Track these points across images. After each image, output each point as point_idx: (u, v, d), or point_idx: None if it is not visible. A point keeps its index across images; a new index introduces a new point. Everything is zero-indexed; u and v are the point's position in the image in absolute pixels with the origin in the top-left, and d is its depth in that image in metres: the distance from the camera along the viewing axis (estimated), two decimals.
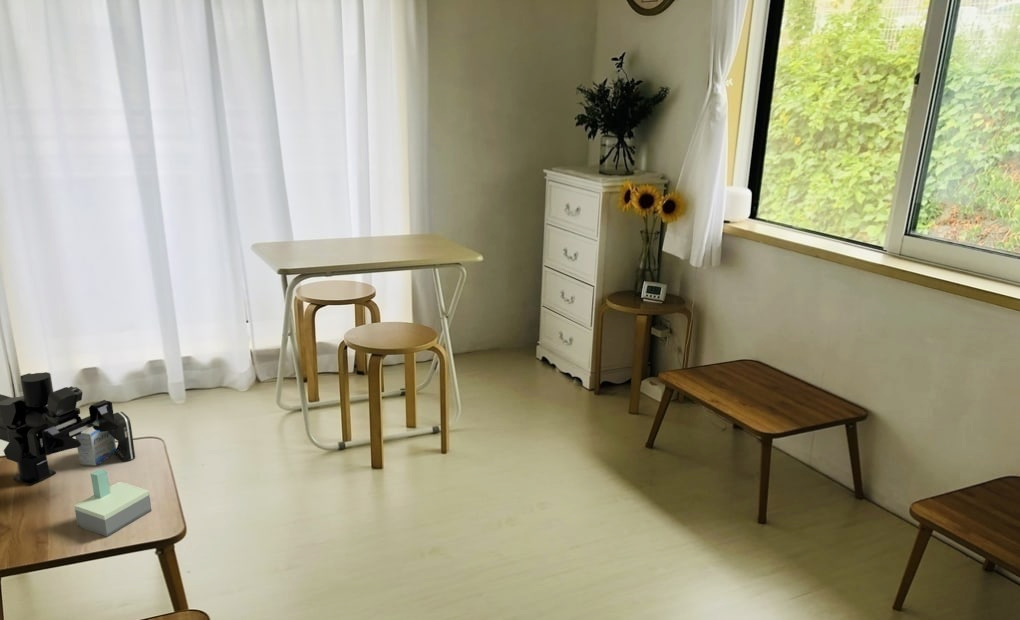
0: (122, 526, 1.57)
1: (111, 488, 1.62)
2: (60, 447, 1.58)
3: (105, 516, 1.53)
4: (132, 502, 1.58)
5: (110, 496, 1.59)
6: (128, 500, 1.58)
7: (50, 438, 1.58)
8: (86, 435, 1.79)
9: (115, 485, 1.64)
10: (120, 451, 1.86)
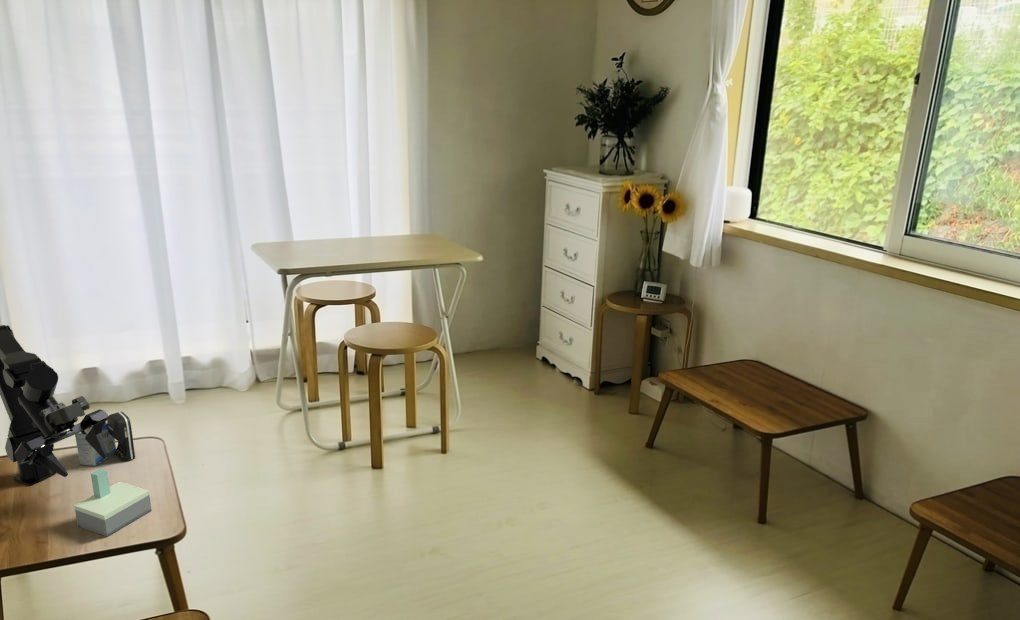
0: (122, 526, 1.57)
1: (111, 488, 1.62)
2: (45, 465, 1.55)
3: (105, 516, 1.53)
4: (132, 502, 1.58)
5: (110, 496, 1.59)
6: (128, 500, 1.58)
7: (40, 454, 1.54)
8: None
9: (115, 485, 1.64)
10: (120, 451, 1.86)
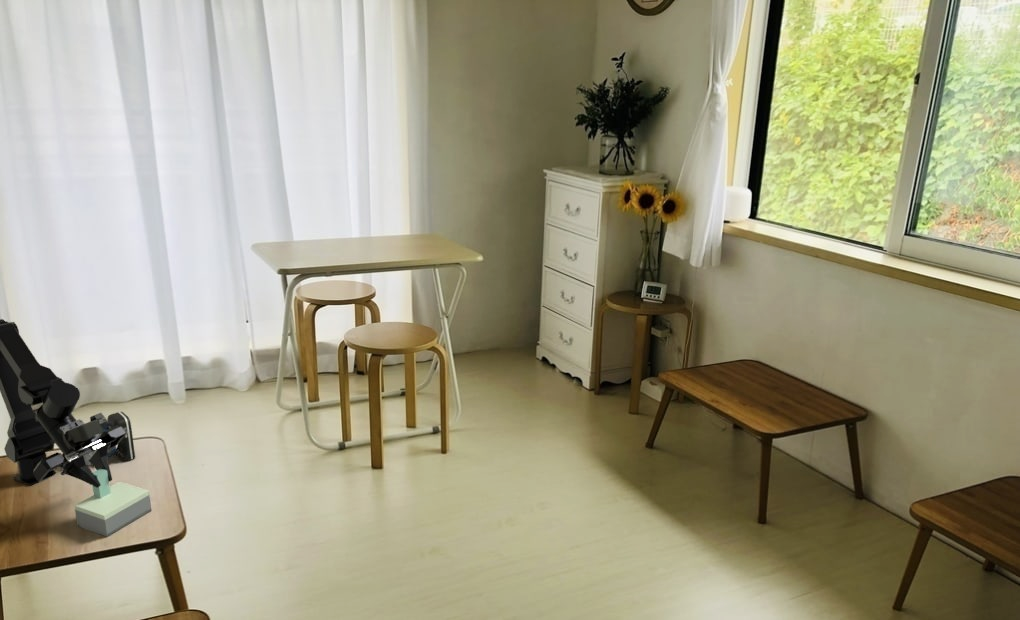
0: (122, 526, 1.57)
1: (111, 488, 1.62)
2: (78, 475, 1.57)
3: (105, 516, 1.53)
4: (132, 502, 1.58)
5: (110, 496, 1.59)
6: (128, 500, 1.58)
7: (74, 465, 1.56)
8: None
9: (115, 485, 1.64)
10: (120, 451, 1.86)
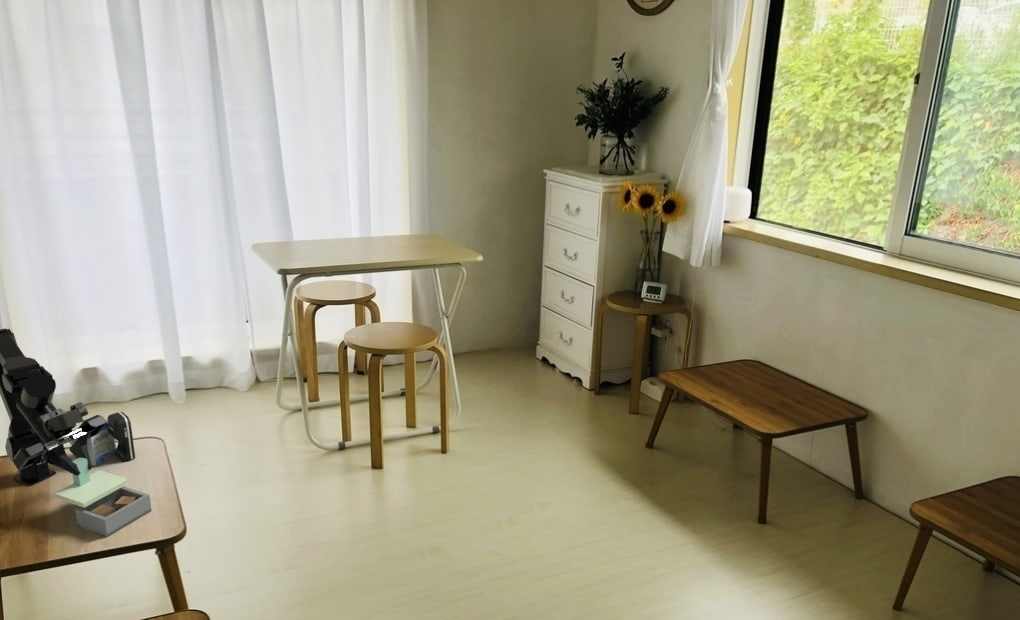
0: (122, 526, 1.57)
1: (91, 476, 1.65)
2: (58, 464, 1.59)
3: (84, 504, 1.55)
4: (111, 490, 1.60)
5: (90, 484, 1.61)
6: (108, 488, 1.60)
7: (54, 453, 1.58)
8: None
9: (95, 473, 1.66)
10: (120, 451, 1.86)
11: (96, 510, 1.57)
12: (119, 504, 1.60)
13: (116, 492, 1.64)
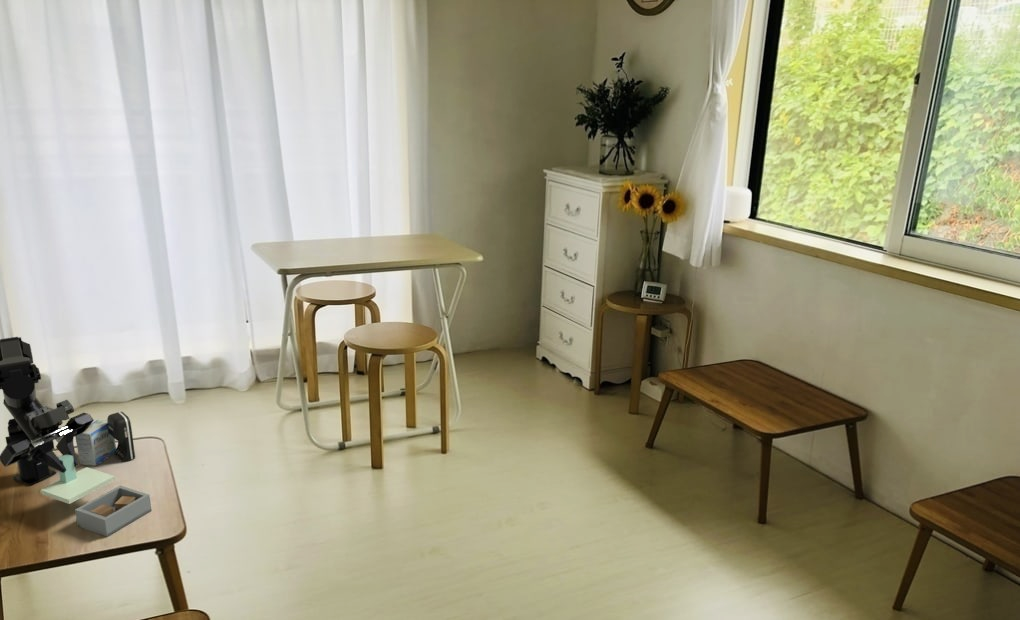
0: (122, 526, 1.57)
1: (77, 473, 1.66)
2: (44, 461, 1.61)
3: (69, 500, 1.56)
4: (97, 487, 1.62)
5: (76, 481, 1.63)
6: (93, 485, 1.62)
7: (40, 450, 1.59)
8: (86, 435, 1.79)
9: (82, 470, 1.67)
10: (120, 451, 1.86)
11: (96, 510, 1.57)
12: (119, 504, 1.60)
13: (116, 492, 1.64)
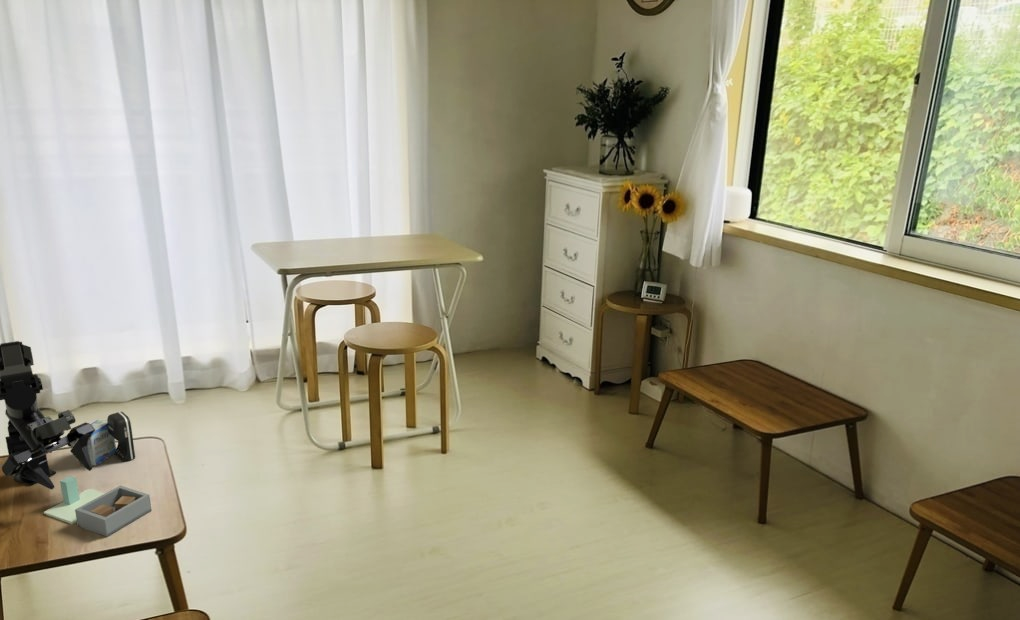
0: (122, 526, 1.57)
1: (81, 495, 1.68)
2: (32, 477, 1.59)
3: (73, 522, 1.58)
4: None
5: (79, 503, 1.65)
6: None
7: (27, 467, 1.57)
8: None
9: (85, 492, 1.69)
10: (120, 451, 1.86)
11: (96, 510, 1.57)
12: (119, 504, 1.60)
13: (116, 492, 1.64)
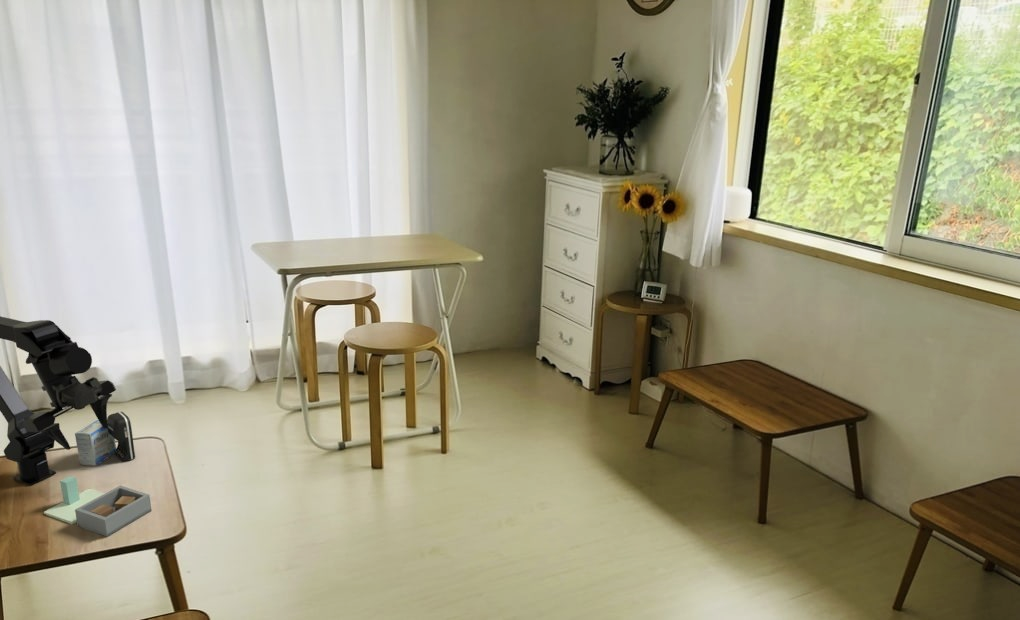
0: (122, 526, 1.57)
1: (81, 495, 1.68)
2: (50, 435, 1.63)
3: (73, 522, 1.58)
4: None
5: (79, 503, 1.65)
6: None
7: None
8: (86, 435, 1.79)
9: (85, 492, 1.69)
10: (120, 451, 1.86)
11: (96, 510, 1.57)
12: (119, 504, 1.60)
13: (116, 492, 1.64)
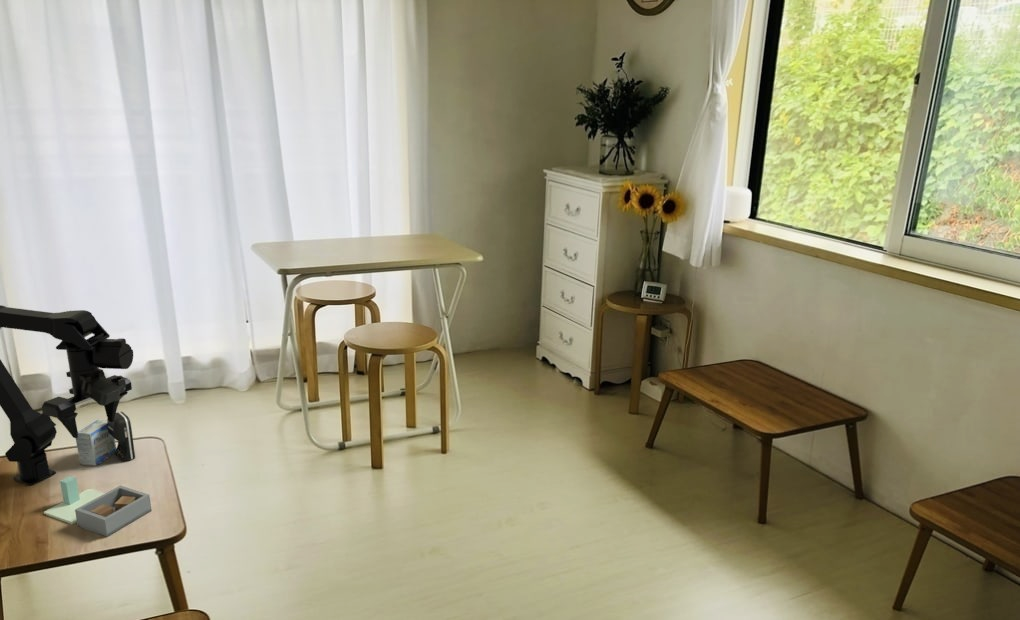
0: (122, 526, 1.57)
1: (81, 495, 1.68)
2: (63, 421, 1.66)
3: (73, 522, 1.58)
4: None
5: (79, 503, 1.65)
6: None
7: None
8: (86, 435, 1.79)
9: (85, 492, 1.69)
10: (120, 451, 1.86)
11: (96, 510, 1.57)
12: (119, 504, 1.60)
13: (116, 492, 1.64)
